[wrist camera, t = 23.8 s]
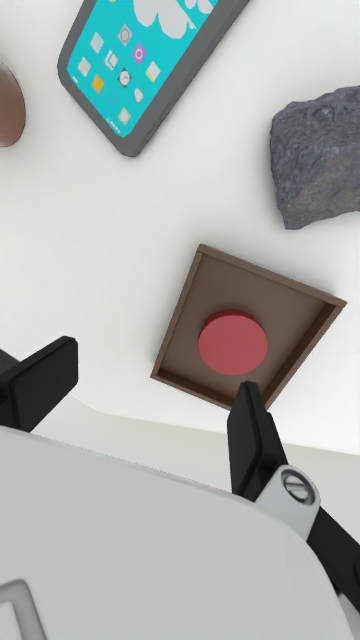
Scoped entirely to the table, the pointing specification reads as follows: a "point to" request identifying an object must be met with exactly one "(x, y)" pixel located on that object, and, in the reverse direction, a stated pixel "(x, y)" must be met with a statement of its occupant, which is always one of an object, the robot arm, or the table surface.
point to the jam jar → (10, 108)
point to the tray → (255, 299)
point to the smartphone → (138, 60)
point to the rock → (317, 157)
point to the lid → (232, 342)
